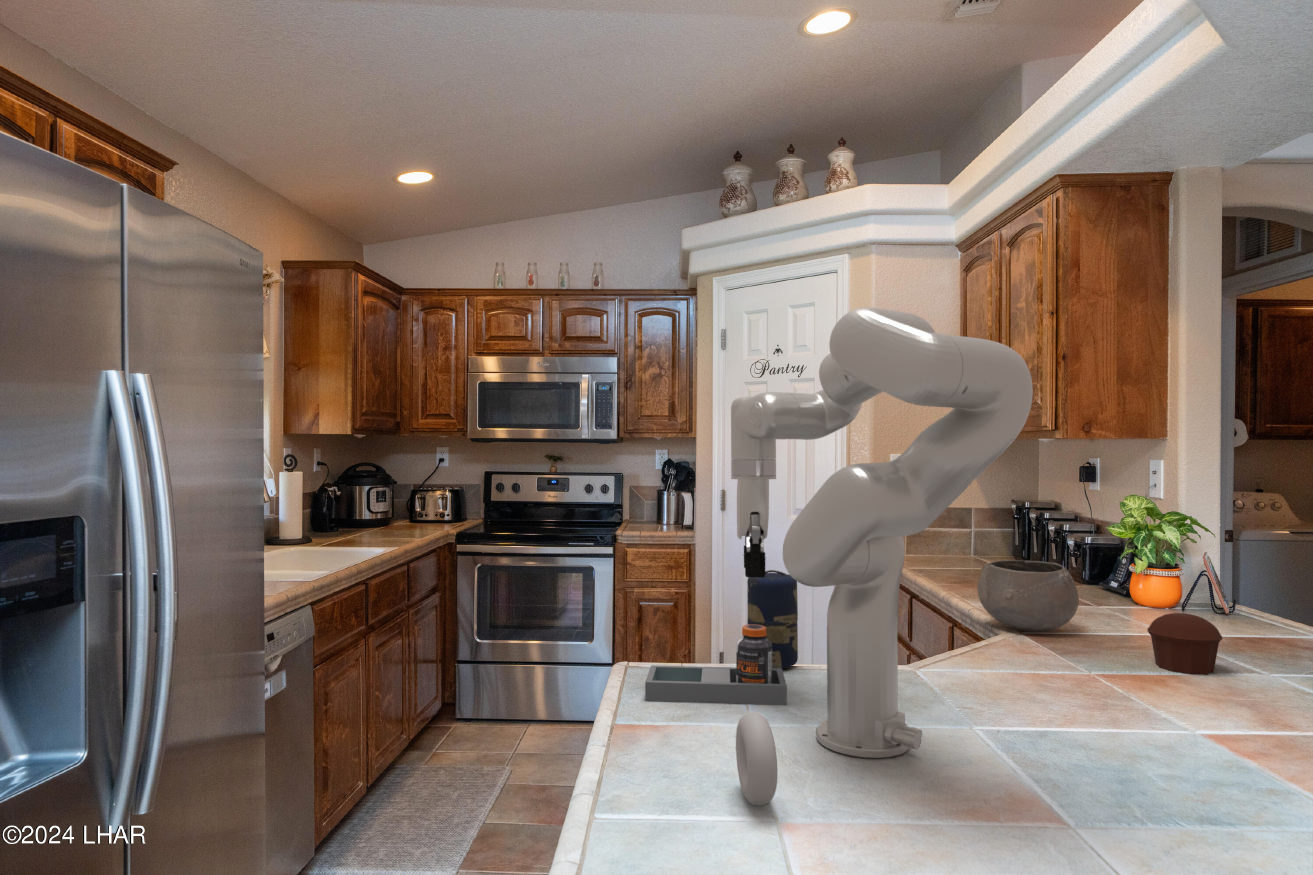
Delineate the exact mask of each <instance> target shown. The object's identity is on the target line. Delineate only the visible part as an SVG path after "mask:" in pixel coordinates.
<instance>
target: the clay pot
mask: <svg viewBox="0 0 1313 875" xmlns="http://www.w3.org/2000/svg"><path fill="white" fill-rule="evenodd" d="M980 570H981V574H980V575H979V578H978V580H977V581H978V582H977V586H976V588H977V589H976V590H977V596H978V599H979V601H980V604H981V605H982V607H983V608H984V610H985V611H986V612H987V613H988V615H990V616H991V617H992V618H993V619H994V620H996V621H998V622H999V623H1001V624H1003V625H1005V626H1007V627H1010V628H1011V629H1016V630H1020V631H1026V632H1045V631H1046V632H1048V631H1053V630H1057V629H1059V628H1061V627H1062V626H1065V625H1067V624H1068V623H1069V622H1070V621H1071V620H1072V619H1073V617H1074V616H1075V615H1076V613H1077V611H1078V607H1079V602H1080V598H1079V592H1078V589H1077V585H1076V583H1075V580H1074V578H1073V576H1072V574H1071V573H1070V572H1069V570H1068V569H1067V568H1066V567H1065V566H1063V565H1061V564H1059V563H1057V562H1050V561H1049V562H1048V561H1042V560H1041V561H1037V560H1024V559H1006V560H996V561H991V562H987V563H985V564H984V565H983V566H982V567H981V569H980Z"/></svg>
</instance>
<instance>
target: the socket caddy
mask: <svg viewBox="0 0 1313 875" xmlns="http://www.w3.org/2000/svg"><path fill="white" fill-rule="evenodd" d="M646 676H647V677H646V679H645V682H644V683H645V684H644V685H645V687H644V688H645V690H644V691H645V693H644V695H645V697H644V701H646V702H672V703H673V702H676V703H677V702H678V703H704V704H705V703H707V704H708V703H710V704H711V703H712V704H737V705H738V704H739V705H740V704H741V705H743V704H744V705H775V706H787V705H788V685H787V682H786V678H785V675H784V671H783V668H780V669H775V668H772V684H761V683H736V666H735V667H728V666H727V667H724V666H696V665H695V666H693V665H689V666H688V665H686V666H685V665H657V664H655V665H654V664H653V665H650V667H649V671H648V673H647V675H646Z"/></svg>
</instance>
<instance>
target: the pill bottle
mask: <svg viewBox="0 0 1313 875" xmlns="http://www.w3.org/2000/svg"><path fill="white" fill-rule="evenodd" d="M741 635H742V637H740V638H738V640H737V641H736V651H735V652H736V653H735V654H736V655H735V656H736V659H735V660H736V661H735V662H736V664H735V665H736V666H735V667H736V683H761V684H772V643H771V641H770V640H768V639H766V627H765V626H762V625H754V624H751V625H748V624H744V625H743V626H742V628H741Z"/></svg>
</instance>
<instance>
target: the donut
mask: <svg viewBox="0 0 1313 875" xmlns="http://www.w3.org/2000/svg"><path fill="white" fill-rule="evenodd" d="M735 752H736V753H735V754H736V756H735V757H736V767H737V774H738V780H739V785H740V787H741V788H740V789H741V791H742V794H743V795H744V797H745V798H746V800H747V802H749V803H750V804H752V805H754V806H759V807H760V806H764V805H767V804H769V803H771V802H772V800H773V798H774V796H775V794H776V792H777V785H778V759H777V749H776V743H775V737H774V734H773V730H772V726H771V725H770V723H769V720H767V718H766V717H765V716H764V715H763V714H761V713H760V712H757V711H749V712H747V713H744V714H743V715H742V716H741V717H740V718H739V720H738V722H737V726H736V733H735Z"/></svg>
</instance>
